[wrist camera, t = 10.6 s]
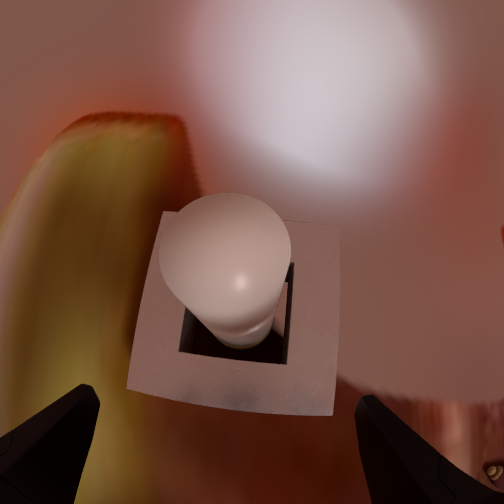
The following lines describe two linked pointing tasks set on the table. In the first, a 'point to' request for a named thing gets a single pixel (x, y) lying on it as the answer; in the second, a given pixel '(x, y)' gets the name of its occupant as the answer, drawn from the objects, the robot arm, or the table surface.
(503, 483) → the gavel
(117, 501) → the table surface
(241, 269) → the white tall rounded piece
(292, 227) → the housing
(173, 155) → the table surface
